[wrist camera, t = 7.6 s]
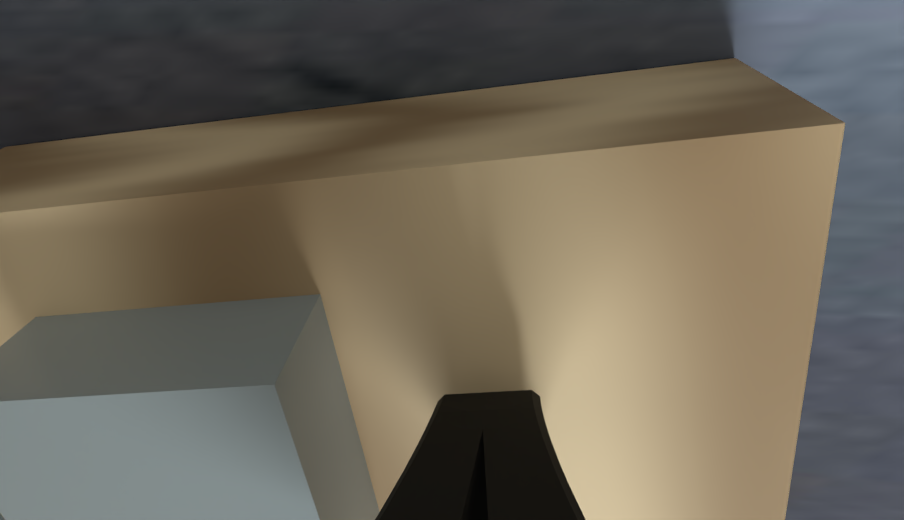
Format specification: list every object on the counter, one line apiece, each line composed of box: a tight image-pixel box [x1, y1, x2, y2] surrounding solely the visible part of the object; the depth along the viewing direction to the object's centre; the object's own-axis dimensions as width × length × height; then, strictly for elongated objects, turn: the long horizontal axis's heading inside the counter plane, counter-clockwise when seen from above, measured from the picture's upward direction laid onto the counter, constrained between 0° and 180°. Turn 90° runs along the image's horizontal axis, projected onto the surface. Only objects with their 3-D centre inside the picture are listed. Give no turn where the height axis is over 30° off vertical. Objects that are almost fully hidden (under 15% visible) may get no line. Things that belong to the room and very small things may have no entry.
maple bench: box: [0, 58, 845, 520], centre depth 13 cm, size 14×13×4 cm
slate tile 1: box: [0, 294, 380, 520], centre depth 9 cm, size 4×4×2 cm
